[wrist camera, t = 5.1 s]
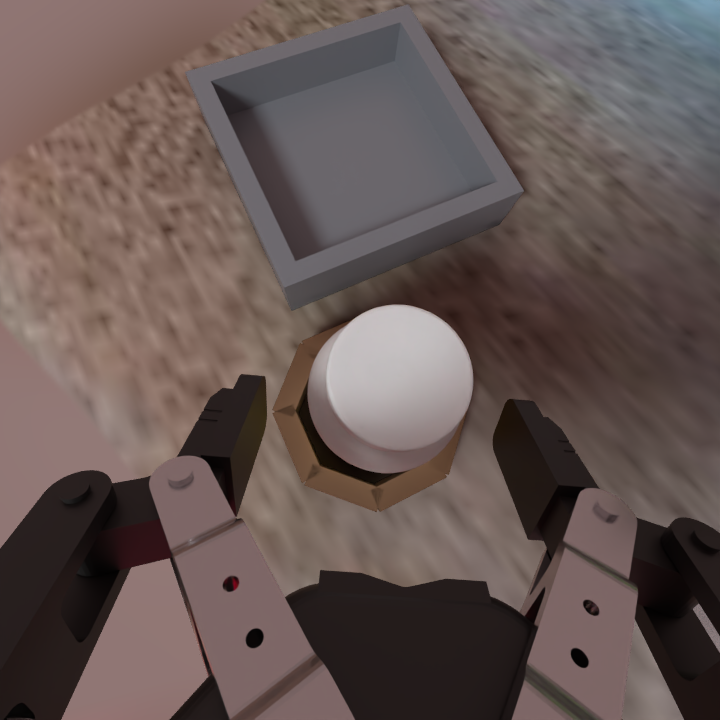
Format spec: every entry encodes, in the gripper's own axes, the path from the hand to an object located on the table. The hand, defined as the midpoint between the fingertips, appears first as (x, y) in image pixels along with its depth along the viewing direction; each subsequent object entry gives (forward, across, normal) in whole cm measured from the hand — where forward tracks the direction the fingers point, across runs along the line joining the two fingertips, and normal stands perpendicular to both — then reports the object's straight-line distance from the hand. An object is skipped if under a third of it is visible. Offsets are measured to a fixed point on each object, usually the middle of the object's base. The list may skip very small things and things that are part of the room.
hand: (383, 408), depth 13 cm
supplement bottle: (+5, 0, +4) cm, 7 cm away
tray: (+15, +2, -5) cm, 16 cm away
